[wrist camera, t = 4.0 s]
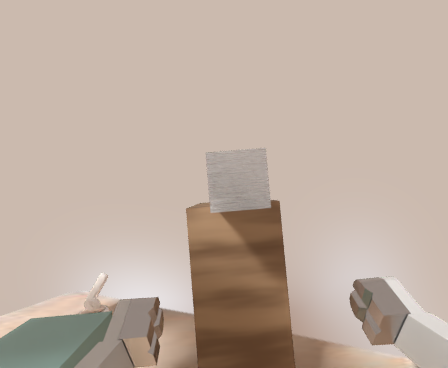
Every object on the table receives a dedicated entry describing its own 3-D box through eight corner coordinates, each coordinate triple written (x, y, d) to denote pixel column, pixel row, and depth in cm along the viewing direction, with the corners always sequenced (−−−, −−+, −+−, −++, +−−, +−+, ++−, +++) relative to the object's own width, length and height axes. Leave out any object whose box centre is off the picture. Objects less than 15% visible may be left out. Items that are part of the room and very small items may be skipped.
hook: (132, 284, 65) (116, 277, 60) (107, 334, 59) (87, 331, 54) (111, 277, 68) (95, 269, 62) (86, 324, 62) (65, 320, 57)
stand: (303, 454, 25) (279, 200, 26) (205, 465, 25) (186, 208, 26) (268, 345, 43) (255, 198, 44) (211, 350, 43) (200, 203, 44)
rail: (271, 207, 16) (265, 147, 16) (210, 212, 16) (205, 152, 16) (238, 200, 44) (236, 178, 44) (216, 201, 44) (214, 179, 44)
